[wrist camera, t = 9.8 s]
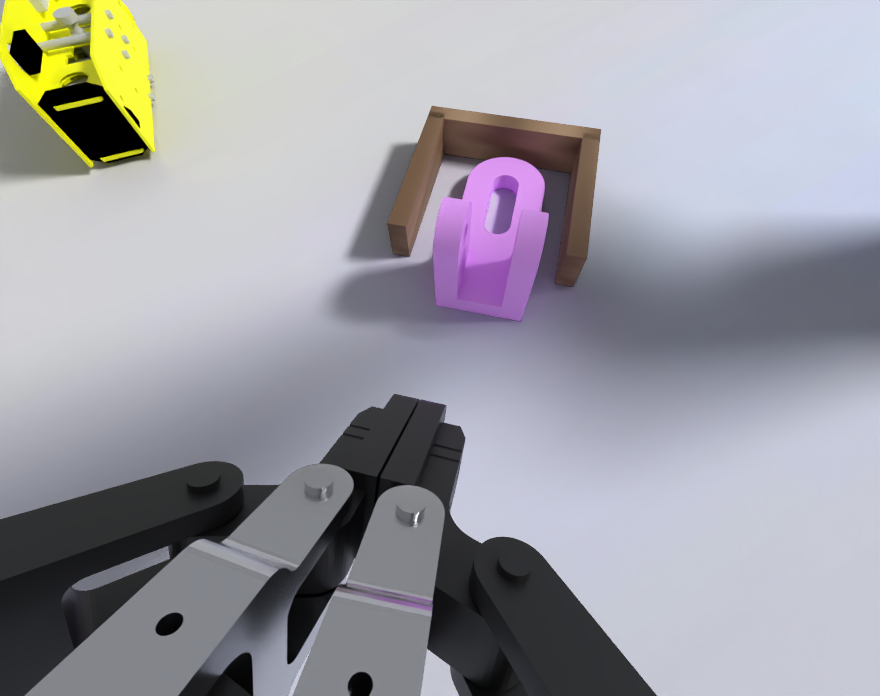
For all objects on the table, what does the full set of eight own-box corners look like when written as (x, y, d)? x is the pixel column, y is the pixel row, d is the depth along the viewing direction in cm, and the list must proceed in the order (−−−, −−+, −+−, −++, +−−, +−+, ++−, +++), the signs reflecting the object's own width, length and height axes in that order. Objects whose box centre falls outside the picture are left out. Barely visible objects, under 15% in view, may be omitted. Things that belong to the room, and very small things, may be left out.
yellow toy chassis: (94, 64, 39) (9, -51, 32) (155, 51, 40) (86, -64, 32) (92, 177, 32) (-17, 67, 25) (165, 159, 33) (81, 47, 26)
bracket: (520, 322, 26) (543, 253, 20) (436, 306, 27) (431, 234, 20) (545, 178, 31) (569, 87, 25) (474, 167, 32) (479, 76, 26)
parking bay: (588, 164, 32) (601, 129, 29) (573, 286, 27) (586, 258, 24) (433, 141, 33) (431, 105, 30) (393, 253, 28) (387, 223, 26)
